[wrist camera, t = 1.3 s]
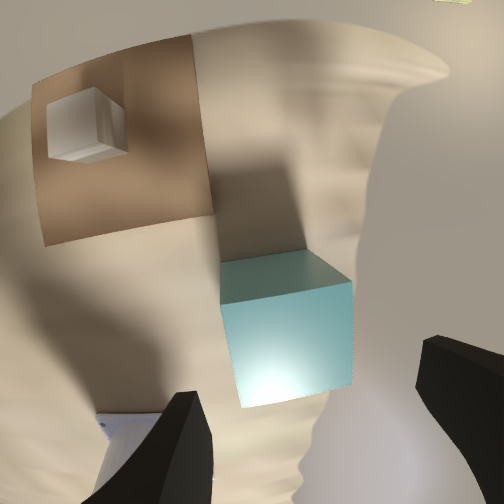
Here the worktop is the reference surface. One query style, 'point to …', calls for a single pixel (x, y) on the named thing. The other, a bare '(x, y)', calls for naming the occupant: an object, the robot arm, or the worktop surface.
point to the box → (456, 1)
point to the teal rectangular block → (287, 326)
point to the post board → (152, 142)
